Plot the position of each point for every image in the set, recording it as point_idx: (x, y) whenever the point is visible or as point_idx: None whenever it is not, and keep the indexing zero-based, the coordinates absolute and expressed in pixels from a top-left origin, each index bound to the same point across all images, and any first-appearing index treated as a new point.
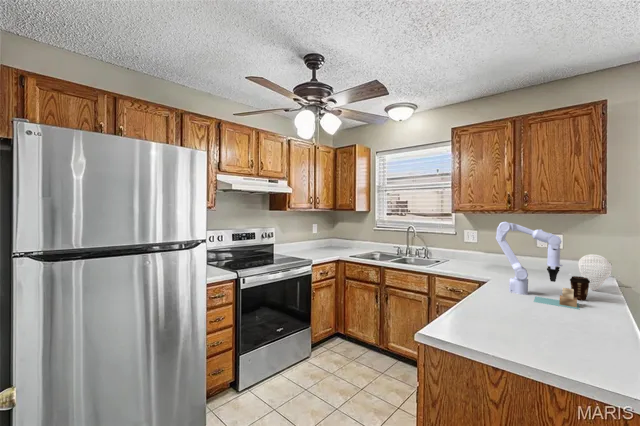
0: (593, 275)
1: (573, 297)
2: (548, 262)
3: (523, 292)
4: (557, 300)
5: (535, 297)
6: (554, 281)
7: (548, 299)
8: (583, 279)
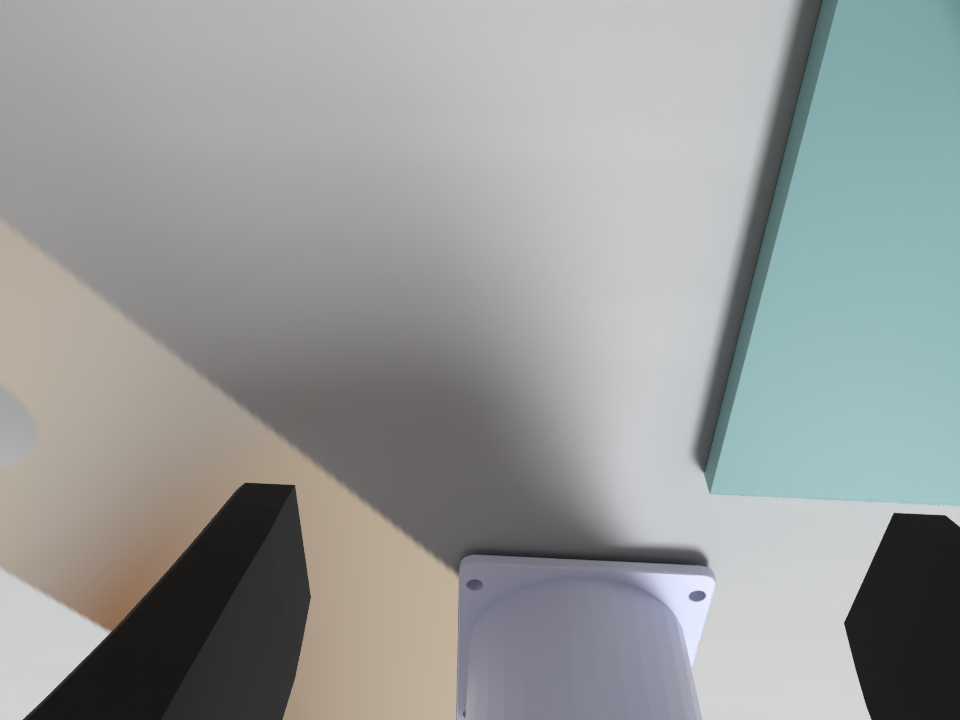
0: None
1: None
2: None
3: (687, 658)
4: (875, 143)
5: (813, 493)
6: (954, 542)
7: (870, 309)
8: None
